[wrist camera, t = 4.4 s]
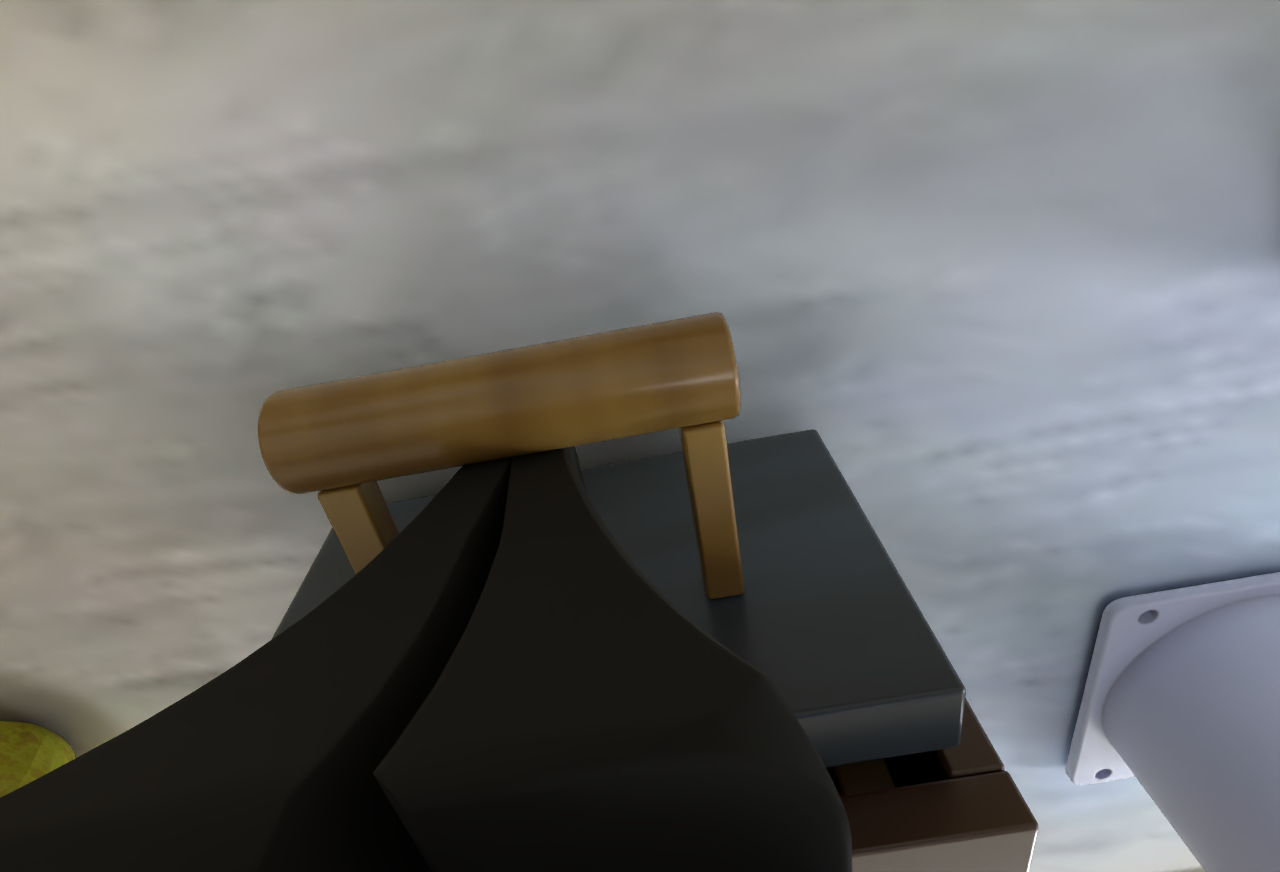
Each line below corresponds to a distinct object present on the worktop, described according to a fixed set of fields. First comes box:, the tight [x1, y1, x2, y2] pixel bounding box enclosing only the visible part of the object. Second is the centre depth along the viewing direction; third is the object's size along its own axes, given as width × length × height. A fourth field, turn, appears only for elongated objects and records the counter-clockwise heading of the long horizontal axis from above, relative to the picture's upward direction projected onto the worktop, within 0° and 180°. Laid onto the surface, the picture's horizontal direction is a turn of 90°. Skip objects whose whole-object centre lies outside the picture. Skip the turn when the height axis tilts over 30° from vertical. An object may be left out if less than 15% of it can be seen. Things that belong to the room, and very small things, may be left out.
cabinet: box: [840, 698, 1038, 872], centre depth 16 cm, size 14×12×9 cm
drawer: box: [258, 312, 966, 796], centre depth 14 cm, size 17×10×7 cm, turn 9°
